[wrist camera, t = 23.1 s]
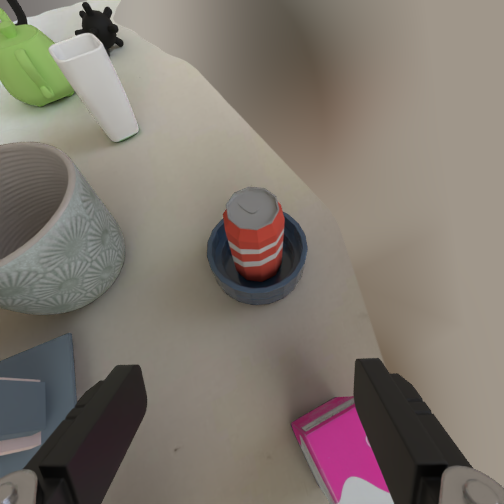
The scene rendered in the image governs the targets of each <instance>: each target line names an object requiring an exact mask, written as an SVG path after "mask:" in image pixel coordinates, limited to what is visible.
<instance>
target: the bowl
mask: <svg viewBox="0 0 504 504" xmlns="http://www.w3.org/2000/svg"><path fill="white" fill-rule="evenodd" d="M283 215H284V219H285V223H284V236H283V250H282V263H281V265H280V267H279V269H278V271H277V273H276V275H275V276H273V277H271V278H269V279H267V280H265V281H263V282H259V281H251V280H246V279H245V278H244V277H243V276H242V275H241V274H240V273H239V272H238V271H236V267H235V264H234V260H233V256H232V253H231V249H230V246H229V242H228V239H227V235H226V232H225V226H224V218H223V219H222V220H221V221H220V222H219V223H218V224H217V225H216V227H215V228H214V229H213V231H212V233H211V235H210V238H209V240H208V244H207V258H208V261H209V264H210V267H211V270H212V272H213V274H214V276H215V278H216V280H217V282H218V284H219V285H220V286H221V288H222V289H223V290H224V291H225V293H226V294H227V295H229V296H231V297H232V298H234V299H235V300H237V301H239V302H243V303H247V304H251V305H262V304H270V303H273V302H275V301H278V300H280V299H282V298H284V297H285V296H287V295H288V294H289V293H290V292H291V291H293V290H294V289H295V287H296V285H297V284H298V282H299V280H300V279H301V277H302V273H303V268H304V264H305V260H306V255H307V250H308V248H307V242H306V236H305V234H304V232H303V230H302V229H301V227H300V225H299V224H298V223H297V222H296V221H295V220H294V219H293V218H292V217H291V216H290V215H288V214H287V213H284V212H283Z"/></svg>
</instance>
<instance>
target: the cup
mask: <svg viewBox="0 0 504 504" xmlns="http://www.w3.org/2000/svg"><path fill="white" fill-rule="evenodd" d="M48 50H49V53H50V54H51V56H52V57H53V59H54V60H55V62H56V63H57V65H58V67H59V68H60V70H61V71H62V73H63V74H64V76H65V77H66V79H67V80H68V82H69V83H70V85H71V86H72V88H73V89H74V91H75V92H76V94H77V95H78V96H79V98H80V99H81V101H82V102H83V103H84V105H85V106H86V108H87V109H88V111H89V112H90V113H91V115H92V116H93V118H94V119H95V120H96V122H97V123H98V124H99V126H100V127H101V128H102V129H103V131H104V132H105V133H106V134H107V136H108V137H109V138H110V139H111V140H112V141H113V142H120V141H123V140H125V139H127V138H129V137H131V136H133V135H135V134H136V133H137V132H138V131H139V127H138V124H137V121H136V118H135V116H134V113H133V110H132V108H131V105H130V103H129V100H128V98H127V95H126V93H125V91H124V88H123V86H122V84H121V82H120V79H119V77H118V75H117V73H116V71H115V69H114V66H113V64H112V62H111V60H110V58H109V56H108V54H107V52H106V50H105V48H104V46H103V44H102V42H101V41H100V40H99V39H98V38H97V37H96V36H95V35H93V34H91V33H83V34H80V35H77V36H74V37H71V38H68V39H66V40H63V41H60V42H57V43H55V44H53V45H51V46H50V47H49V49H48Z"/></svg>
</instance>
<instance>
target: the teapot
mask: <svg viewBox="0 0 504 504" xmlns="http://www.w3.org/2000/svg"><path fill="white" fill-rule="evenodd" d="M0 20H1V21H2V22H1V23H0V80H1V82H2V84H3V85H4V87H5V88H6V89H7V91H8V92H9V93H10V94H11V95H12V96H13V97H15V98H16V99H18V100H20V101H22V102H24V103H27V104H30V105H37V106H38V107H42V106H44V105H46V104H47V103H50V102H53V101H56V100H58V99H61V98H63V97H68V96H71V95H73V94H74V89H73V88H72V86H71V85H70V83H69V82H68V80H67V79H66V77H65V76H64V74H63V73H62V71H61V70H60V68H59V67H58V65H57V63H56V62H55V60H54V59H53V57H52V56H51V54H50V53H49V50H48V49H49V47H50V46H51V45H53V44H55V43H54V42H53V41H52V40H51V39H50V38H48V37H47V36H46V35H45V34H43V33H42V32H41V31H40V30H38V29H37V28H36V27H34V26H32V25H27V24H24V25H18V26H15V24H14V23H13V22H12V21H11V20H10V18H9V17H8V16H7V14H6V13H5V12H4V11H3V10H2V9H1V8H0Z"/></svg>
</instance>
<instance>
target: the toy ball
mask: <svg viewBox="0 0 504 504" xmlns="http://www.w3.org/2000/svg"><path fill="white" fill-rule="evenodd" d="M82 6H83V8H84V10H85V12H86V13H85V12H84V11H80V12H79V15H80V17H81V18H82V28H83V29H81V30H76V31H75V35H76V36H77V35H80V34H83V33H91V34H93V35H95V36H96V37H97V38H98V39H99V40H100V41H101V42H102V44H103V46H104V48H105V50H106V52H107V54H108V56H110V55H109V51H108V48H111V47H112V46H113V45H114V43H115V44H117V45H118V46H120V47H122V46H123V41H122V40H121V39H119V38H118V37H116V33H117V32H118V27H117V25H115V24H113V23H112V22H111V20H110V17H111V14H112V10H111V9H110V8H109V7H105V9H104V12H103V13H101V12H100V11H95V10H92V9H91V7H90V5H89V4H88V3H87V2H84V3H83V4H82Z"/></svg>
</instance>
